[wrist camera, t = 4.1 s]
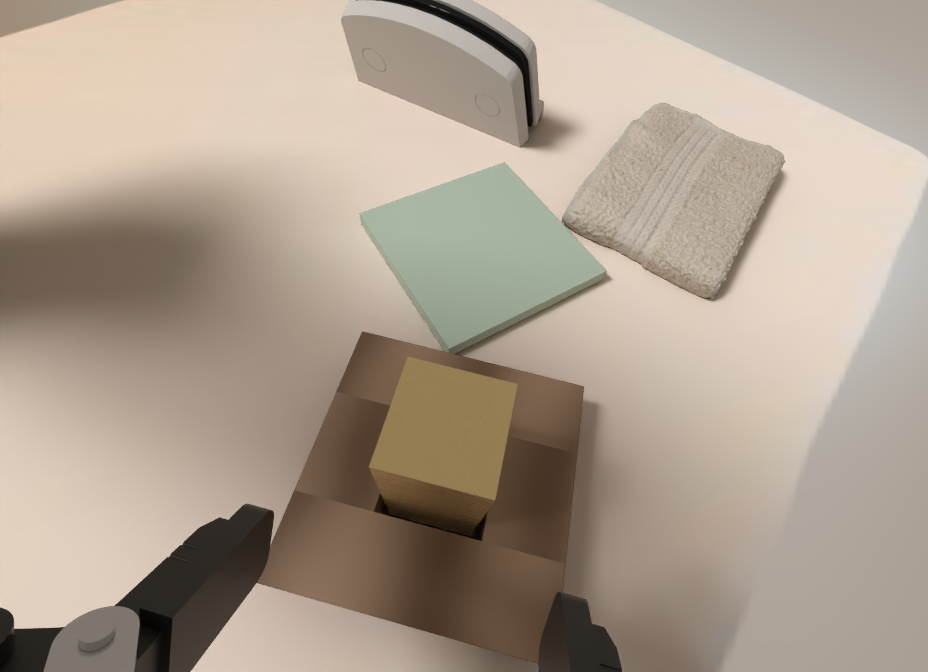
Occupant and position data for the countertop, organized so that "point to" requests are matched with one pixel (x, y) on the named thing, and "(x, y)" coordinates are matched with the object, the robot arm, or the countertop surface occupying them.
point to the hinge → (448, 61)
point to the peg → (443, 445)
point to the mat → (479, 254)
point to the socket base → (425, 548)
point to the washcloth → (676, 197)
